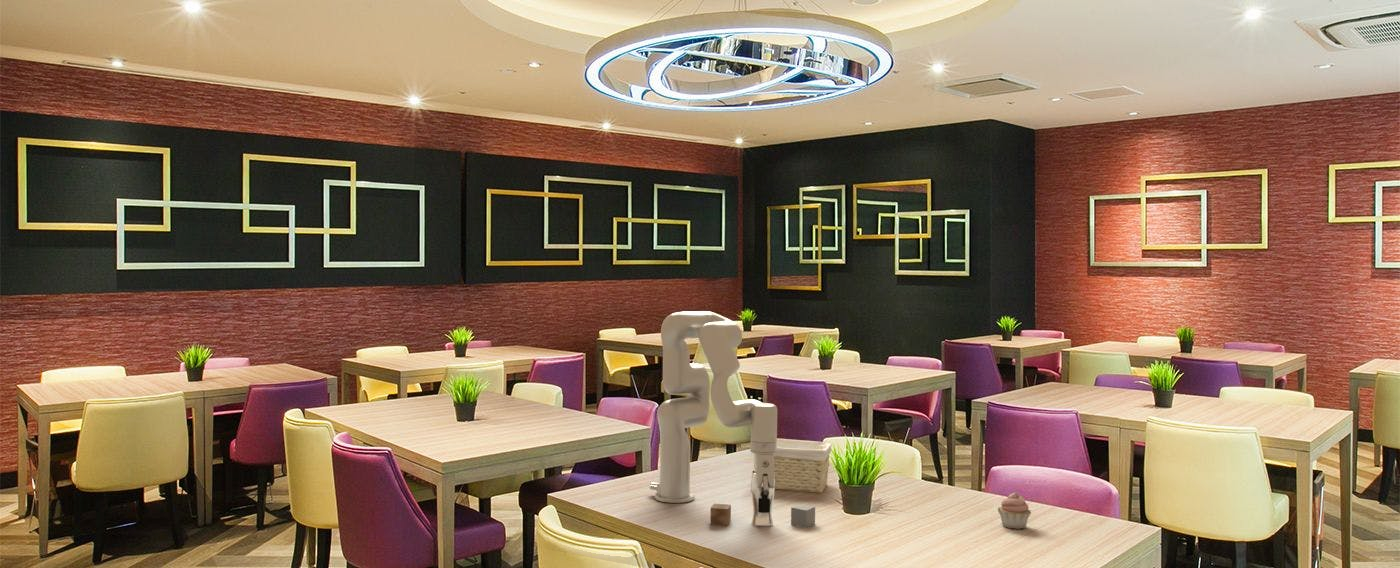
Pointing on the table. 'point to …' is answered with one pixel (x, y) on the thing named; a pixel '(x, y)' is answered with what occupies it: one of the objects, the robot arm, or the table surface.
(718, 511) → the walnut block
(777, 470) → the storage basket
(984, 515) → the table surface
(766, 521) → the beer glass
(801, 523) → the slate-grey block
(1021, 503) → the cupcake
